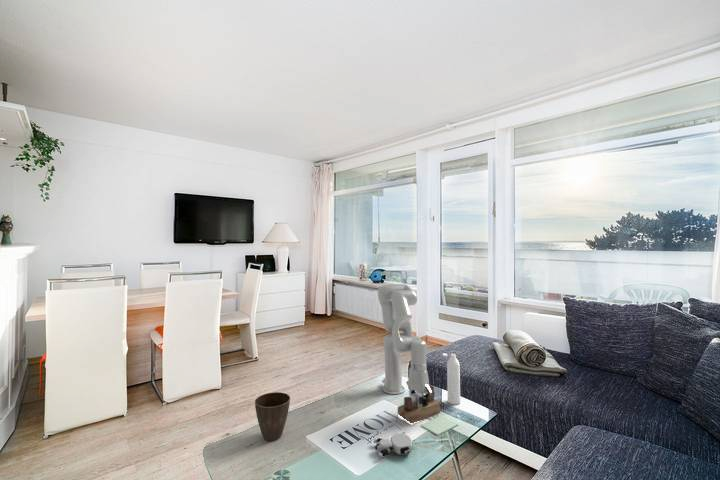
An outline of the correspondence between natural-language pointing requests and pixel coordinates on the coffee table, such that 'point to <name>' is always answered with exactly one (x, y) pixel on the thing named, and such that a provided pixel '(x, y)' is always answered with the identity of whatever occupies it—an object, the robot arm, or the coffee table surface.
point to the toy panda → (394, 445)
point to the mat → (439, 425)
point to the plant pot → (272, 414)
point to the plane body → (422, 413)
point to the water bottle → (453, 379)
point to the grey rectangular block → (417, 399)
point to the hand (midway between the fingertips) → (419, 403)
